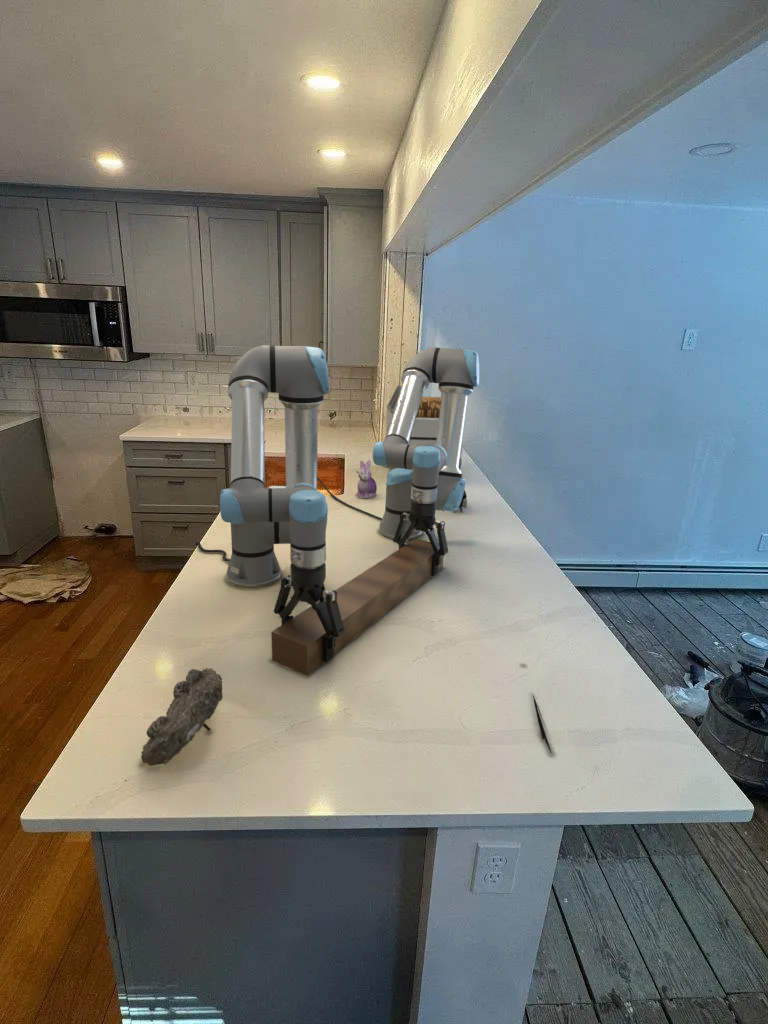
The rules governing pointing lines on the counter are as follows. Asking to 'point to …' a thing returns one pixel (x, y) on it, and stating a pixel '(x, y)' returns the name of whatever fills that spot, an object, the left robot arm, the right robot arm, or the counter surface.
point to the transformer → (421, 421)
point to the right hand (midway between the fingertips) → (418, 569)
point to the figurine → (366, 481)
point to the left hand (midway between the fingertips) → (308, 650)
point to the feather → (541, 724)
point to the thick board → (354, 606)
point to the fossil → (183, 716)
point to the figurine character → (463, 501)
